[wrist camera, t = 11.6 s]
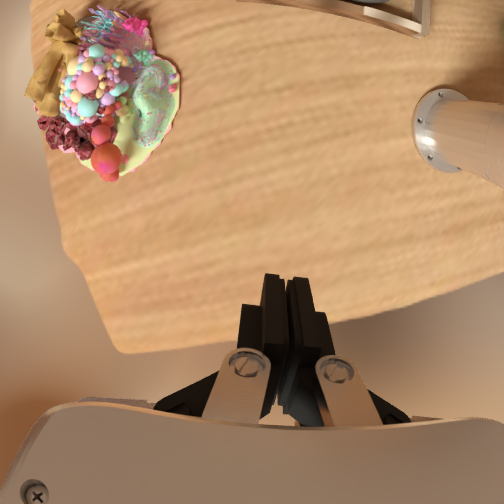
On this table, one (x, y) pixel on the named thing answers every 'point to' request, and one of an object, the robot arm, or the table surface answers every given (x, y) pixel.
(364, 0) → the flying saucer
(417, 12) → the bay
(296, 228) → the table surface
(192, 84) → the table surface
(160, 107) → the candy landscape model
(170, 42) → the table surface
